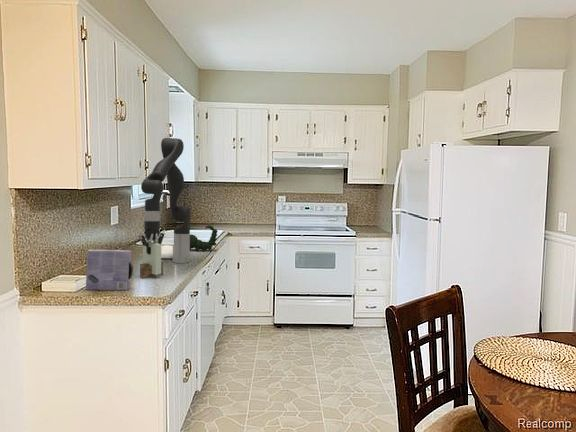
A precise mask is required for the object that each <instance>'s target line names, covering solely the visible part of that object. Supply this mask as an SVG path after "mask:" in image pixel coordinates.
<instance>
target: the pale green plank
mask: <svg viewBox="0 0 576 432" xmlns="http://www.w3.org/2000/svg"><path fill="white" fill-rule="evenodd" d="M161 246H162V243H161V244H158V243H153V241H152V242H151V246H150V247H151V254H147V252H146V246H143V245H142V264H144V263H148V264H149V269H152V274H155V275H157V274H161V261H162V258H161Z"/></svg>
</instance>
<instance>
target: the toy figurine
mask: <svg viewBox="0 0 576 432" xmlns="http://www.w3.org/2000/svg"><path fill="white" fill-rule="evenodd" d="M205 229H209V230H211V231H212V232H211V233H210V235H211V236H210V237H209V240H208V241H203V240H201V239H198V237H197V236H196V235H195V234H190V251H191V250H192V249H195V251H196V250H198V251H199V250H201V251H202V250H203V251H202V252H206V251H207V250H209V251H211V250H212V248H213V246H216V245H217V243H216V241H217V240H218V238H217V236H218V230H217V228H214V226H213V225H207V226H205Z"/></svg>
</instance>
